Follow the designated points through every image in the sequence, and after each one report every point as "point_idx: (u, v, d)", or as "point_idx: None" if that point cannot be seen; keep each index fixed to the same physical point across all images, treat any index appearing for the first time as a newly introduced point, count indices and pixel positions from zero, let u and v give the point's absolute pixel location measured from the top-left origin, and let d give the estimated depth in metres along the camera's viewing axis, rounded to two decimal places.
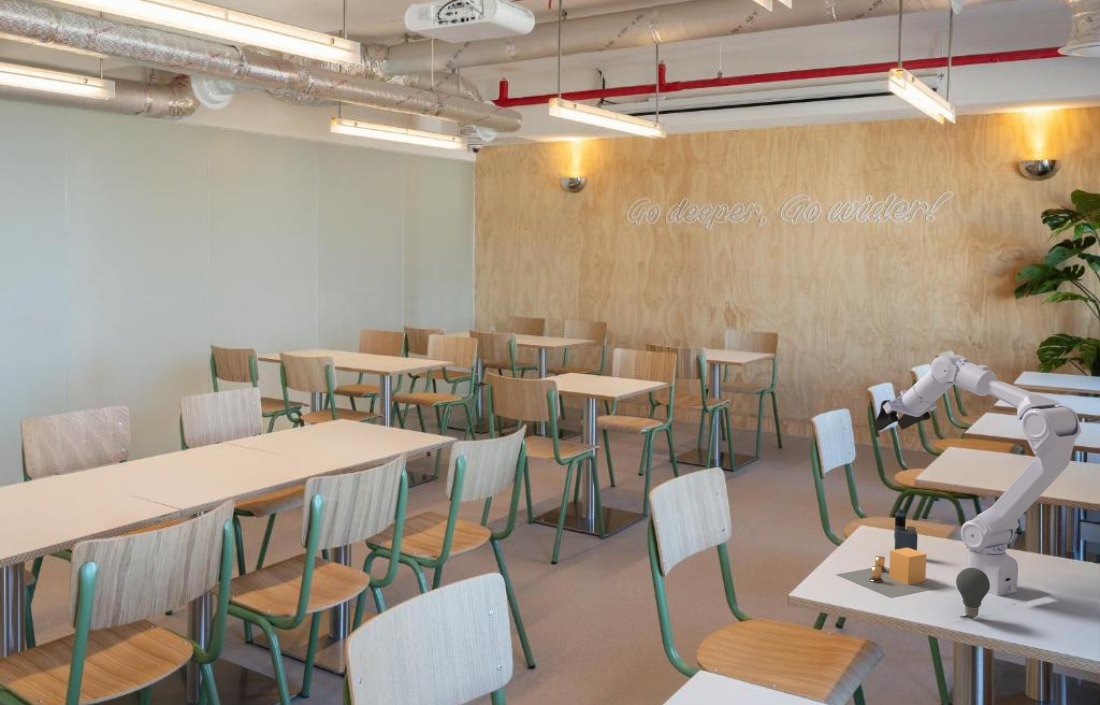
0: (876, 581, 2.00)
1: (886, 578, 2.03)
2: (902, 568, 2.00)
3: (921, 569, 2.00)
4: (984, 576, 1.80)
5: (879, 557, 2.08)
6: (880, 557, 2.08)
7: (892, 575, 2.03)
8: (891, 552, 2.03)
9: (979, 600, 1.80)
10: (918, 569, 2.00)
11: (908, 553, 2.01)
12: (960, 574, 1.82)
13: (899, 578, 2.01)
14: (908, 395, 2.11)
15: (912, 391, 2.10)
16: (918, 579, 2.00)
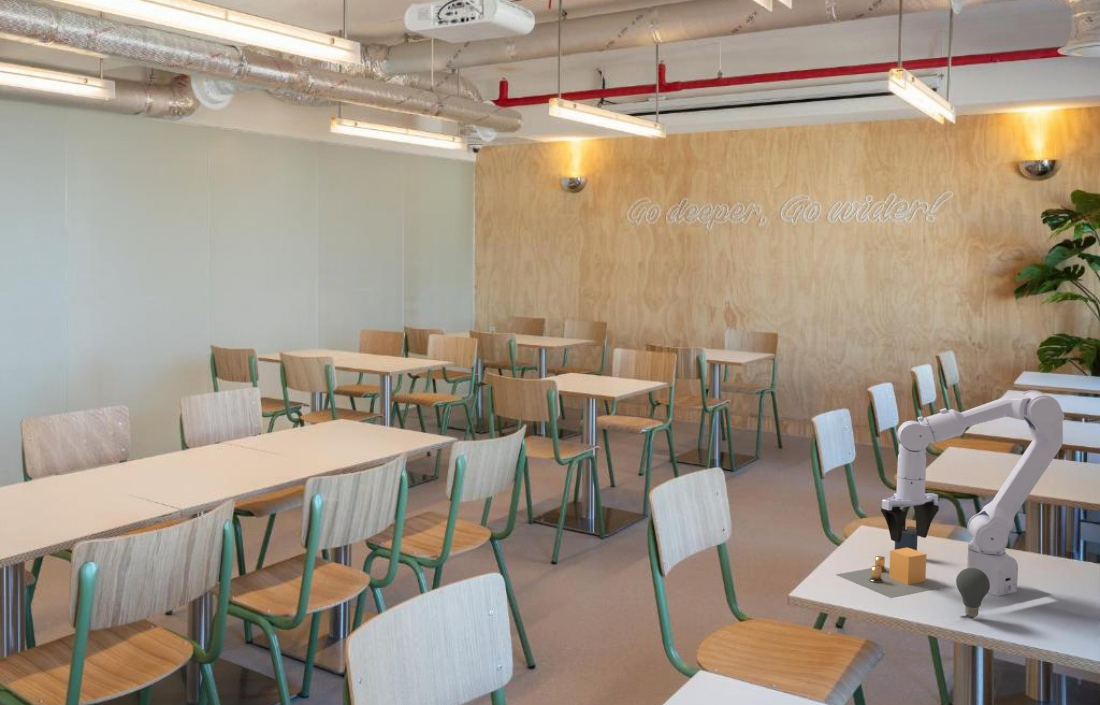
0: (876, 581, 2.00)
1: (886, 578, 2.03)
2: (902, 568, 2.00)
3: (921, 569, 2.00)
4: (984, 576, 1.80)
5: (879, 557, 2.08)
6: (880, 557, 2.08)
7: (892, 575, 2.03)
8: (891, 552, 2.03)
9: (979, 600, 1.80)
10: (918, 569, 2.00)
11: (908, 553, 2.01)
12: (960, 574, 1.82)
13: (899, 578, 2.01)
14: (898, 486, 2.00)
15: (898, 480, 2.00)
16: (918, 579, 2.00)
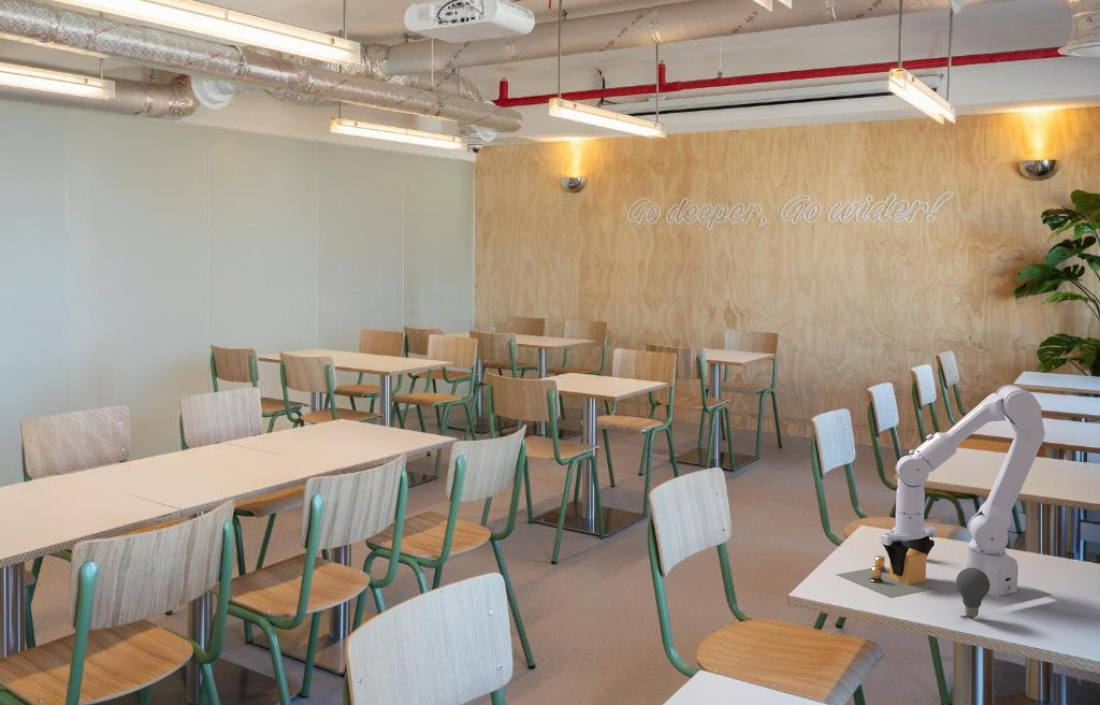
0: (876, 581, 2.00)
1: (886, 578, 2.03)
2: None
3: (921, 569, 2.00)
4: (984, 576, 1.80)
5: (879, 557, 2.08)
6: (880, 557, 2.08)
7: (892, 575, 2.03)
8: None
9: (979, 600, 1.80)
10: (918, 569, 2.00)
11: (908, 553, 2.01)
12: (960, 574, 1.82)
13: (899, 578, 2.01)
14: (897, 521, 2.01)
15: (897, 514, 2.01)
16: (918, 579, 2.00)
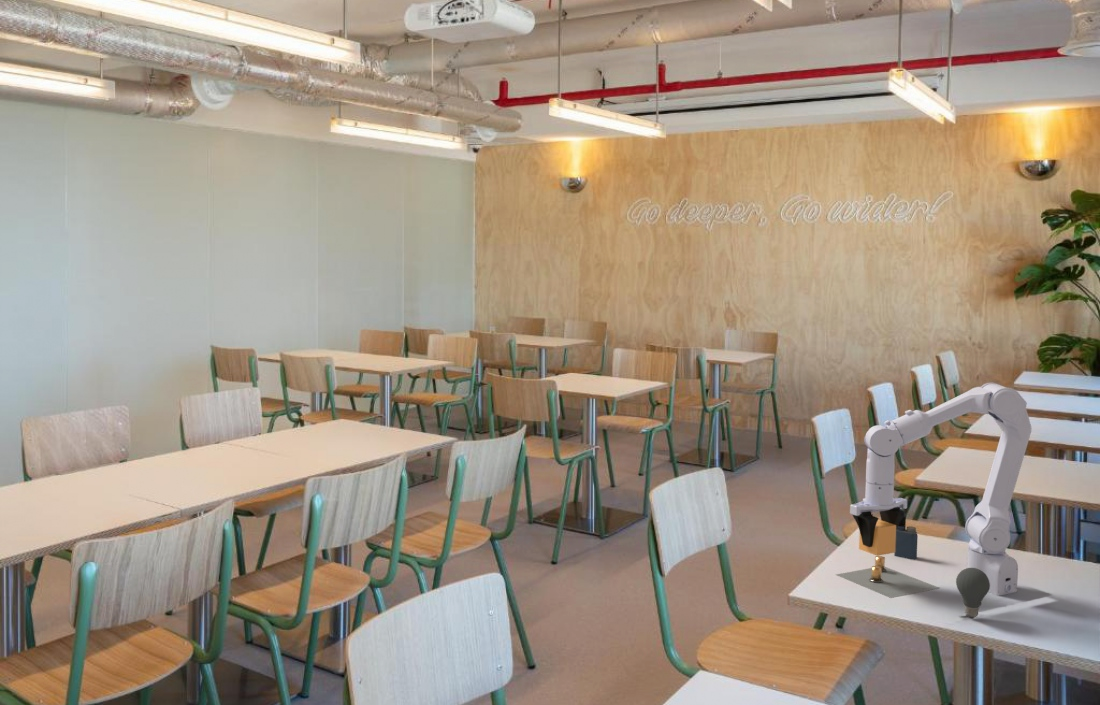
0: (876, 581, 2.00)
1: (886, 578, 2.03)
2: None
3: (891, 540, 1.98)
4: (984, 576, 1.80)
5: (879, 557, 2.08)
6: (880, 557, 2.08)
7: (861, 547, 2.01)
8: None
9: (979, 600, 1.80)
10: (887, 540, 1.98)
11: (878, 524, 1.99)
12: (960, 574, 1.82)
13: (869, 549, 1.99)
14: (867, 491, 1.99)
15: (867, 485, 1.99)
16: (888, 550, 1.98)
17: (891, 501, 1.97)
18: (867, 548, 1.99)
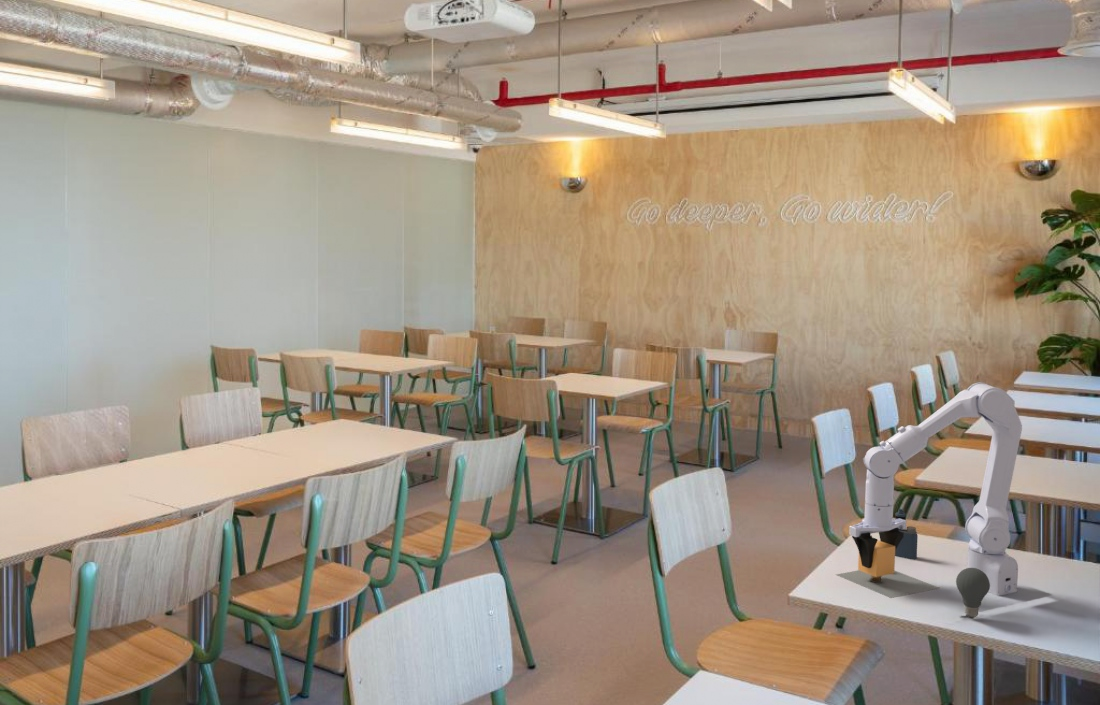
0: (876, 581, 2.00)
1: (886, 578, 2.03)
2: None
3: (890, 561, 1.99)
4: (984, 576, 1.80)
5: None
6: None
7: (861, 568, 2.01)
8: None
9: (979, 600, 1.80)
10: (886, 561, 1.98)
11: (877, 545, 2.00)
12: (960, 574, 1.82)
13: (868, 570, 1.99)
14: (866, 512, 1.99)
15: (866, 506, 1.99)
16: (887, 571, 1.99)
17: (890, 522, 1.98)
18: (866, 569, 2.00)
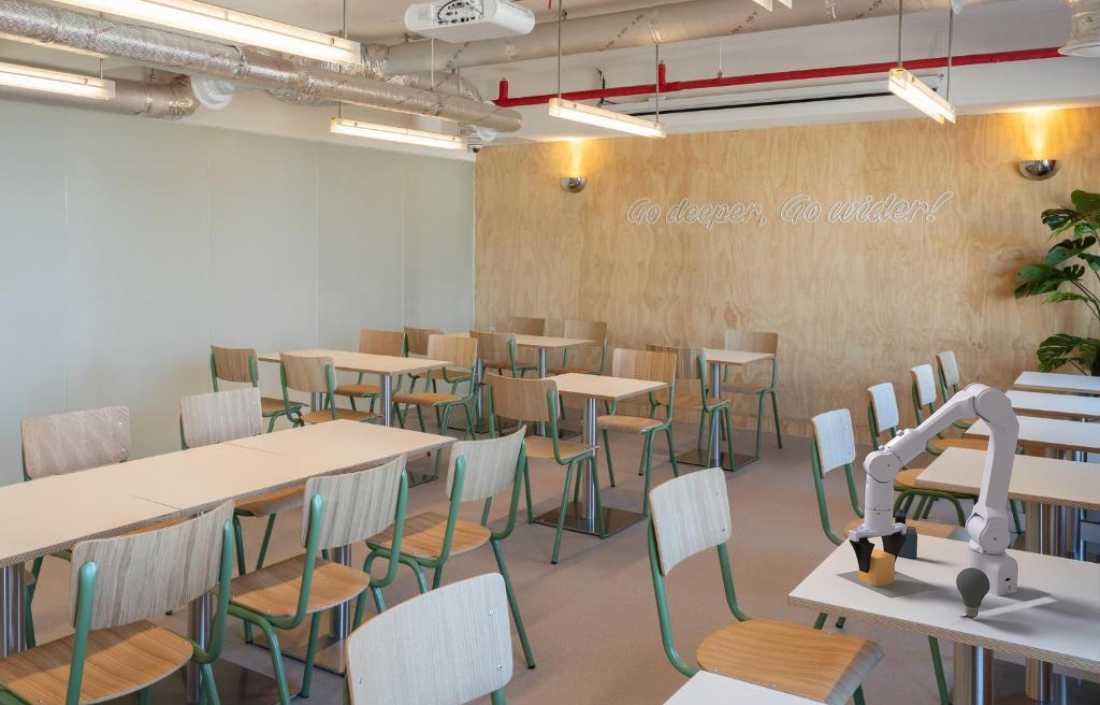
0: None
1: None
2: (870, 570, 1.99)
3: (889, 571, 1.99)
4: (984, 576, 1.80)
5: None
6: None
7: (860, 577, 2.02)
8: None
9: (979, 600, 1.80)
10: (886, 570, 1.99)
11: (877, 554, 2.00)
12: (960, 574, 1.82)
13: (868, 580, 2.00)
14: (866, 517, 1.99)
15: (866, 510, 1.99)
16: (886, 581, 1.99)
17: (890, 527, 1.98)
18: (866, 578, 2.00)
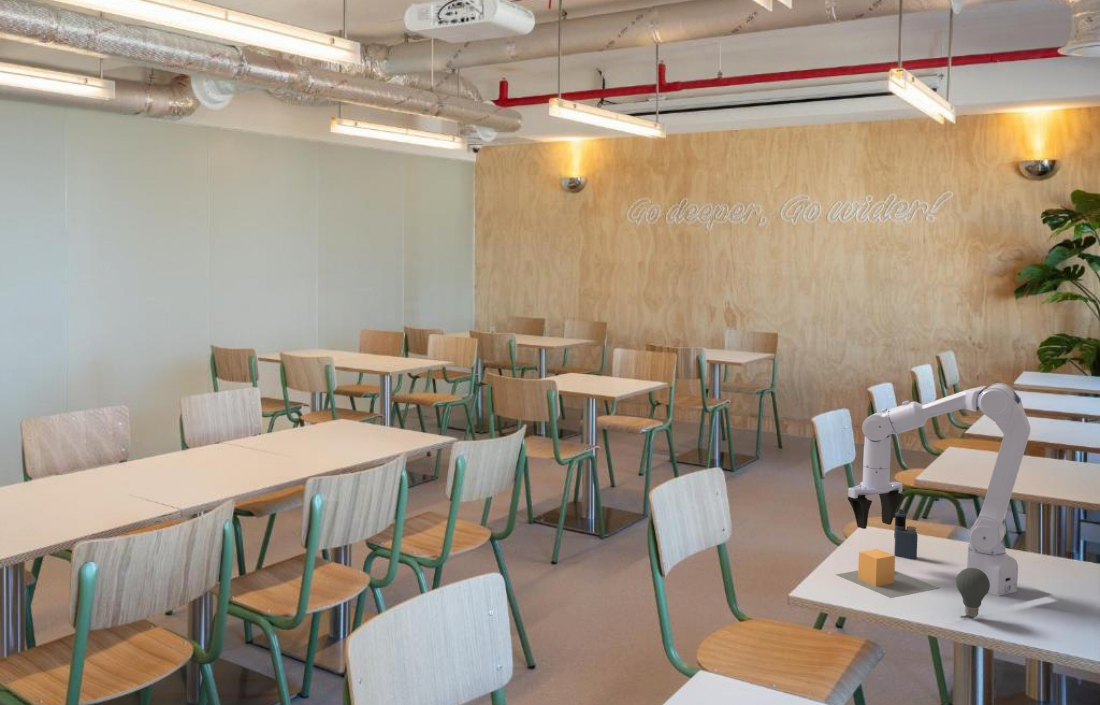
0: None
1: None
2: (870, 570, 1.99)
3: (889, 571, 1.99)
4: (984, 576, 1.80)
5: None
6: None
7: (860, 577, 2.02)
8: (860, 553, 2.01)
9: (979, 600, 1.80)
10: (886, 570, 1.99)
11: (877, 554, 2.00)
12: (960, 574, 1.82)
13: (868, 580, 2.00)
14: (864, 475, 2.08)
15: (864, 469, 2.08)
16: (886, 581, 1.99)
17: (887, 484, 2.07)
18: (866, 578, 2.00)
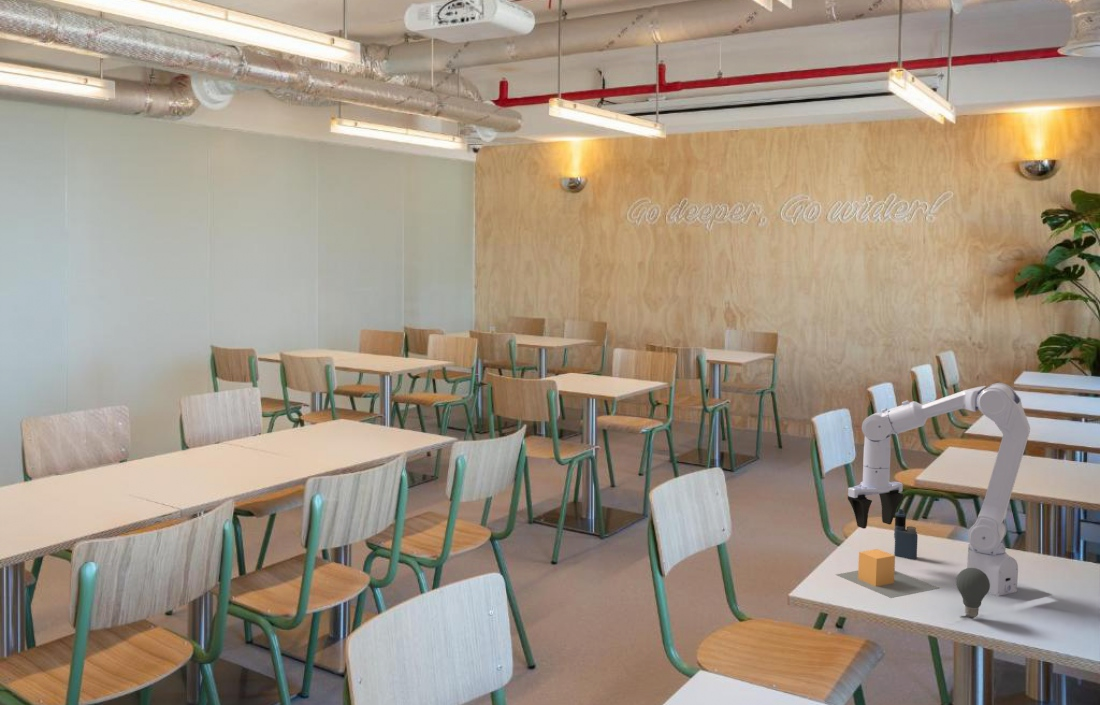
0: None
1: None
2: (870, 570, 1.99)
3: (889, 571, 1.99)
4: (984, 576, 1.80)
5: None
6: None
7: (860, 577, 2.02)
8: (860, 553, 2.01)
9: (979, 600, 1.80)
10: (886, 570, 1.99)
11: (877, 554, 2.00)
12: (960, 574, 1.82)
13: (868, 580, 2.00)
14: (864, 475, 2.09)
15: (864, 469, 2.09)
16: (886, 581, 1.99)
17: (887, 484, 2.07)
18: (866, 578, 2.00)
